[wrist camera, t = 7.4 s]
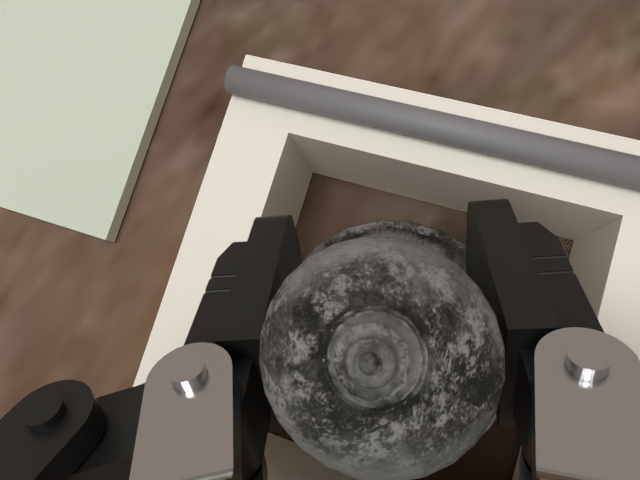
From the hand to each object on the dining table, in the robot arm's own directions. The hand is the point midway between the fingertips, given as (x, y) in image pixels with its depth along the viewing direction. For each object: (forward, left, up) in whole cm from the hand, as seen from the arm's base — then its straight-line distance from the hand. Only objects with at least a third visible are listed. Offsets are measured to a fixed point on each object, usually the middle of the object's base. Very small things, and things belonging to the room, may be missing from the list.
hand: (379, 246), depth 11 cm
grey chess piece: (+1, -2, -6) cm, 6 cm away
